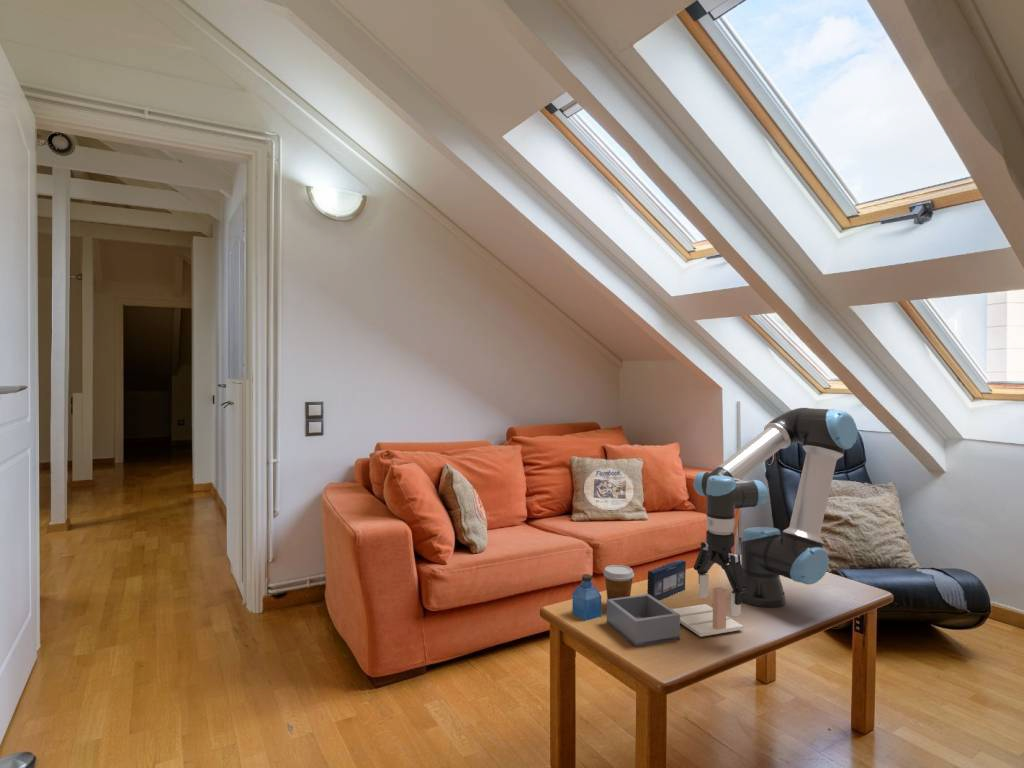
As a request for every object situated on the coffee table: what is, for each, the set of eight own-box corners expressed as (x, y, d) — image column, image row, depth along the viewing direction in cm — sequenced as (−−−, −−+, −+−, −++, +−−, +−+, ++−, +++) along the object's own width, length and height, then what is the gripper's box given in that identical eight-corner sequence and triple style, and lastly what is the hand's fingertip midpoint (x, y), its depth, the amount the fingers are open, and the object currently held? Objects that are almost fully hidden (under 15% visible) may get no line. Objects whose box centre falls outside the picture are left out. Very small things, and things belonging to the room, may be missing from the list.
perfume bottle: (572, 613, 179) (572, 574, 178) (588, 609, 182) (588, 571, 182) (584, 621, 173) (585, 580, 173) (601, 616, 176) (601, 577, 176)
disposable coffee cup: (596, 607, 183) (597, 569, 183) (614, 599, 190) (615, 562, 190) (622, 616, 177) (622, 577, 176) (639, 607, 183) (640, 569, 183)
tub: (647, 616, 177) (648, 593, 176) (679, 639, 161) (679, 614, 161) (606, 622, 172) (606, 599, 172) (635, 647, 157) (635, 621, 157)
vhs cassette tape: (653, 603, 187) (653, 572, 187) (645, 600, 189) (646, 570, 189) (686, 590, 198) (687, 561, 198) (679, 588, 201) (679, 559, 201)
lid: (705, 610, 182) (706, 568, 182) (743, 632, 167) (743, 587, 166) (665, 616, 178) (666, 573, 177) (700, 640, 162) (701, 593, 162)
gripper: (682, 521, 176) (681, 591, 176) (740, 544, 152) (739, 625, 153) (703, 519, 178) (702, 588, 179) (763, 542, 155) (762, 621, 155)
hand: (719, 605), depth 166 cm, fingers open, 13 cm apart
